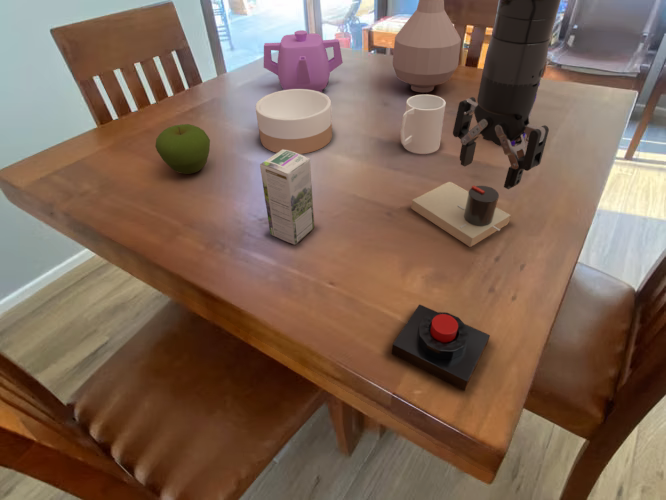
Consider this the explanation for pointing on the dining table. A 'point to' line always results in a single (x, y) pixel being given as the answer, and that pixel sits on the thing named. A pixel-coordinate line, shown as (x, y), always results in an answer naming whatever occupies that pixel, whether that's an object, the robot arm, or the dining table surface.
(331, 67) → the teapot
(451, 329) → the button
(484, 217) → the hob knob
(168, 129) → the apple
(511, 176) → the robot arm
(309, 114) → the bowl
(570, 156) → the dining table surface
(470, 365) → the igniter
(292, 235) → the syrup box
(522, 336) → the dining table surface
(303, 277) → the dining table surface
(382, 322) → the dining table surface
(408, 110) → the cup
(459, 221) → the hob panel
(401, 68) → the vase
